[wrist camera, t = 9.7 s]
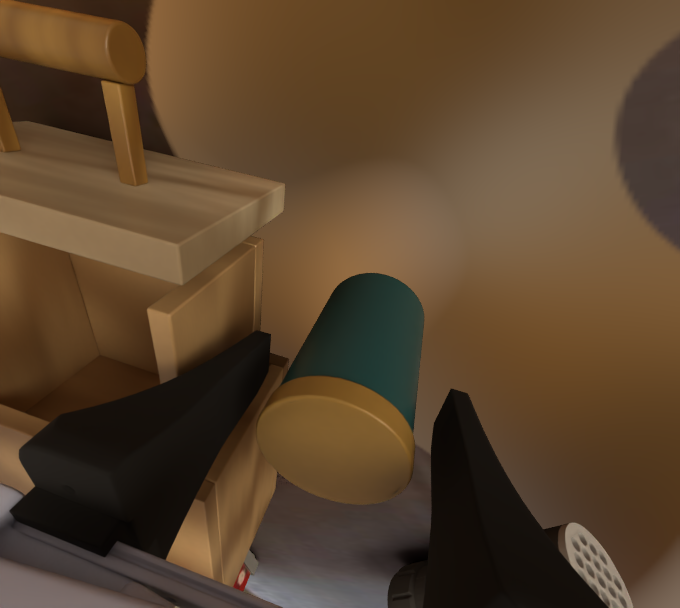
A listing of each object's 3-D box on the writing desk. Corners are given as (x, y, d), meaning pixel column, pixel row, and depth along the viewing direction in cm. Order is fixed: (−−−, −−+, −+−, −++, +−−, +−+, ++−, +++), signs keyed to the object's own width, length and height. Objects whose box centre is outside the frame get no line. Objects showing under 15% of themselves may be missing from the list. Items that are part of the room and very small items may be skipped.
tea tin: (320, 340, 19) (253, 473, 12) (334, 258, 16) (256, 374, 10) (410, 367, 18) (389, 523, 12) (440, 287, 15) (436, 432, 9)
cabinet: (89, 295, 22) (-82, 393, 15) (289, 358, 20) (204, 502, 13) (130, 435, 30) (32, 541, 23) (275, 488, 28) (218, 621, 21)
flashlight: (432, 586, 30) (430, 672, 26) (386, 554, 29) (374, 637, 25) (614, 551, 21) (657, 671, 17) (555, 504, 21) (584, 617, 16)
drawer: (-10, -2, 13) (-349, -72, 8) (295, 56, 12) (153, 23, 6) (97, 346, 23) (-16, 428, 17) (270, 403, 21) (208, 515, 16)
